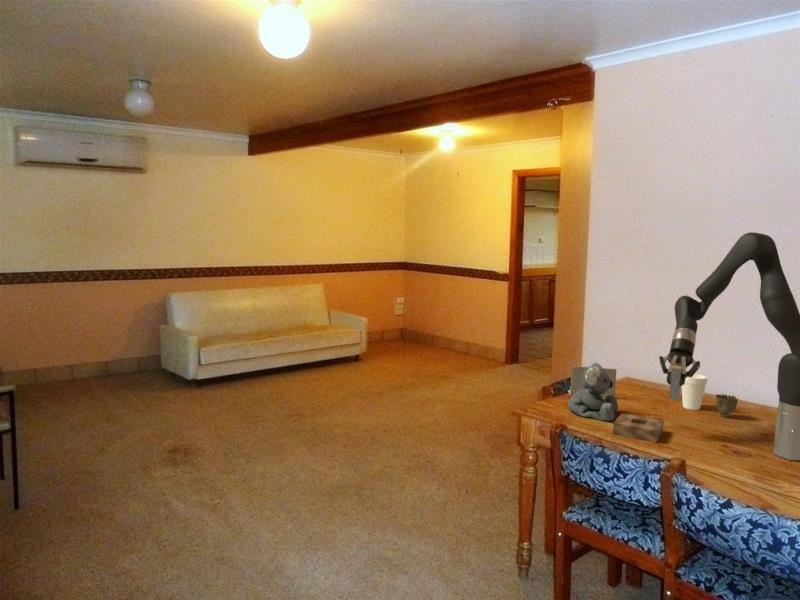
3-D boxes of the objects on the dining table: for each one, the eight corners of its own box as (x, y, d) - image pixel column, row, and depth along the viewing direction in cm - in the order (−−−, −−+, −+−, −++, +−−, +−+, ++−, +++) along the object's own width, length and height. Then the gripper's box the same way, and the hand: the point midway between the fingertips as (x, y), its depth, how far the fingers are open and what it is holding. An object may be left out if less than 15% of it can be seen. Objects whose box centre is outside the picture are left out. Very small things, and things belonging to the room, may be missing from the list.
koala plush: (613, 423, 223) (618, 371, 221) (563, 416, 231) (566, 364, 228) (618, 411, 239) (622, 362, 237) (571, 404, 246) (574, 356, 244)
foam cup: (689, 411, 242) (692, 379, 241) (673, 404, 251) (676, 373, 250) (709, 410, 245) (712, 378, 243) (692, 403, 254) (695, 372, 252)
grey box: (609, 392, 269) (611, 362, 268) (614, 399, 257) (616, 369, 255) (567, 388, 272) (569, 359, 271) (569, 396, 260) (571, 366, 258)
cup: (738, 420, 233) (740, 399, 232) (717, 418, 234) (719, 397, 233) (732, 414, 240) (734, 394, 239) (711, 412, 241) (713, 392, 240)
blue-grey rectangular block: (679, 397, 213) (682, 363, 211) (678, 399, 211) (681, 366, 209) (670, 395, 215) (673, 362, 213) (669, 398, 212) (671, 364, 210)
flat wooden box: (662, 431, 216) (663, 420, 216) (656, 442, 204) (657, 430, 204) (621, 423, 223) (622, 413, 223) (612, 434, 211) (613, 422, 211)
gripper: (661, 335, 220) (652, 374, 211) (704, 340, 213) (697, 381, 204) (662, 347, 225) (653, 386, 216) (705, 352, 218) (697, 393, 209)
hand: (674, 384), depth 210 cm, fingers closed on blue-grey rectangular block, 3 cm apart
